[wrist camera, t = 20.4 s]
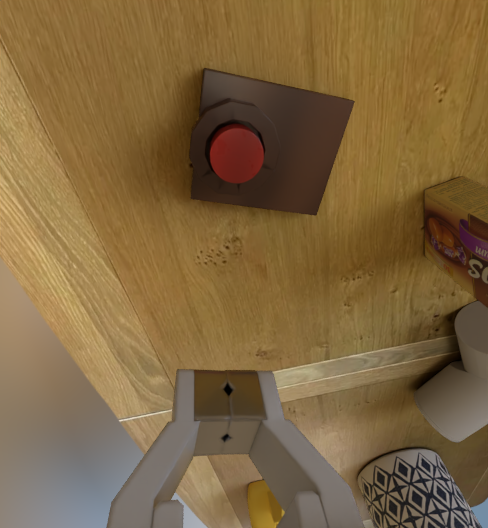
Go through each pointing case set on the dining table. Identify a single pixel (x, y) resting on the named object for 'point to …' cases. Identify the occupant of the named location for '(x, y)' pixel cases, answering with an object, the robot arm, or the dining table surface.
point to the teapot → (263, 506)
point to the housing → (269, 141)
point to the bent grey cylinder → (460, 381)
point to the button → (236, 153)
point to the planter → (413, 492)
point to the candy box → (459, 233)
